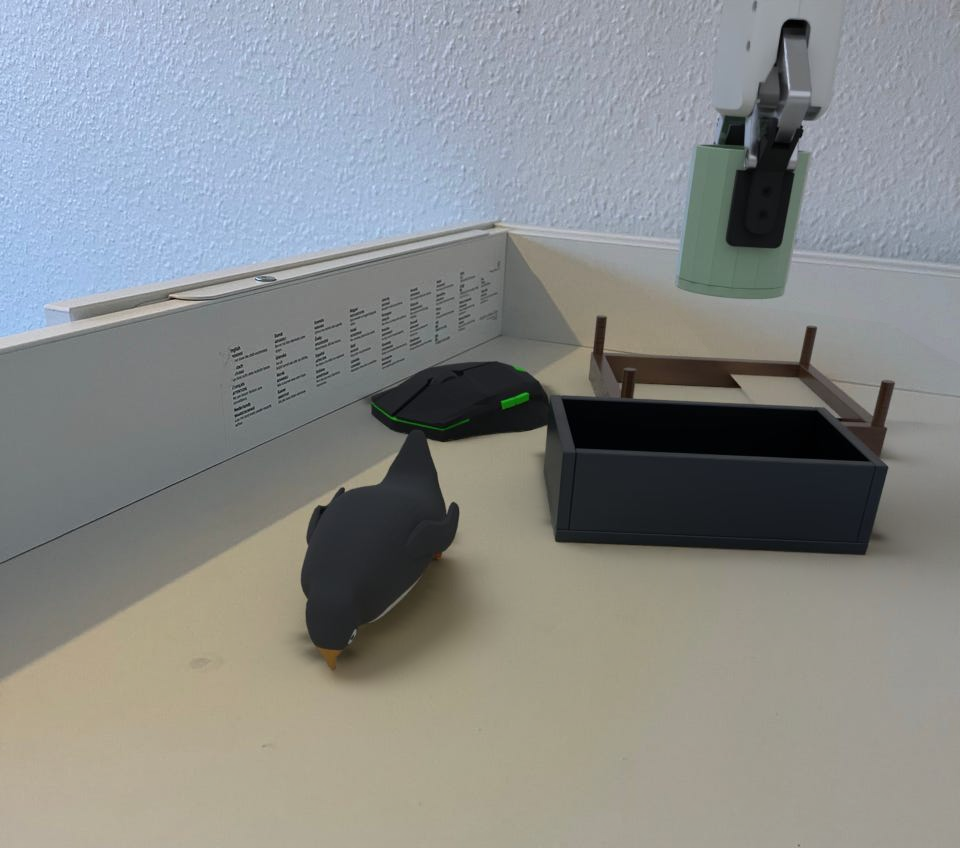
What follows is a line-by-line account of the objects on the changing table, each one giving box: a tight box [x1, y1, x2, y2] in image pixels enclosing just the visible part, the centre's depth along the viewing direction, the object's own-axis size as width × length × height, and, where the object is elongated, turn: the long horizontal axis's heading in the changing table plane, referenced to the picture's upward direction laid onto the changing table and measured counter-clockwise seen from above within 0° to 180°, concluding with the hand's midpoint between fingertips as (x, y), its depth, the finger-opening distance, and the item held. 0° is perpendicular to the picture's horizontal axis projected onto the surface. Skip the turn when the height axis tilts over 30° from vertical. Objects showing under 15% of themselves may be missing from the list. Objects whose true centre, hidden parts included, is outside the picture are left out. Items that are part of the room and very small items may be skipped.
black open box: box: [543, 394, 889, 555], centre depth 66 cm, size 20×13×6 cm, turn 90°
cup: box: [674, 143, 813, 300], centre depth 61 cm, size 7×7×8 cm
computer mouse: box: [370, 360, 550, 442], centre depth 83 cm, size 11×16×4 cm
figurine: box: [300, 430, 461, 670], centre depth 51 cm, size 7×10×15 cm
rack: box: [588, 314, 896, 459], centre depth 87 cm, size 21×21×6 cm
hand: (738, 235), depth 61 cm, fingers closed on cup, 6 cm apart
